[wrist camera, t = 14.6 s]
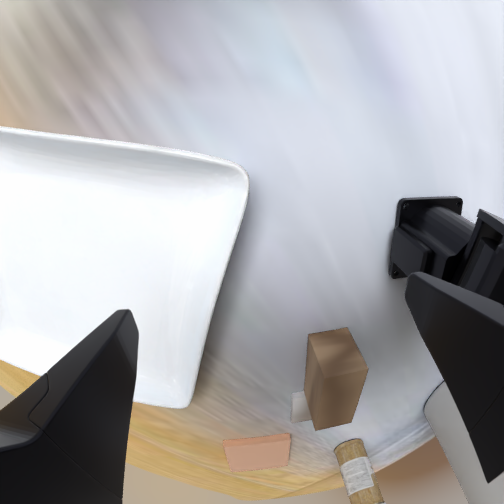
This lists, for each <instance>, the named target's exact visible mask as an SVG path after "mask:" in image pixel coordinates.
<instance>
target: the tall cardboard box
mask: <svg viewBox="0 0 504 504" xmlns="http://www.w3.org/2000/svg"><path fill="white" fill-rule="evenodd" d="M367 372H368V367H367V365H366V363H365V361H364V359H363V357H362V355H361V353H360V351H359V349H358V347H357V345H356V343H355V341H354V339H353V337H352V335H351V334H350V332H349V330H348V328H341V329H336V330H330V331H325V332H319V333H313V334H308V344H307V359H306V372H305V384H304V391H301V392H295V393H292V398H291V422H292V423H296V422H302V421H307V420H312V421H313V425H314V428H315V431H316V430H321V429H326V428H330V427H335V426H339V425H343V424H347V423H351V422H352V419H353V416H354V413H355V410H356V407H357V404H358V401H359V398H360V395H361V392H362V389H363V386H364V382H365V379H366V376H367Z"/></svg>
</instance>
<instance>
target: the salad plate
mask: <svg viewBox="0 0 504 504" xmlns="http://www.w3.org/2000/svg"><path fill="white" fill-rule="evenodd" d="M249 186H250V184H249V175H248V173H247V172H246V170H245V169H244V168H243V167H242V166H240V165H238V164H236V163H235V162H232V161H229V160H226V159H222V158H219V157H214V156H210V155H205V154H201V153H196V152H191V151H185V150H179V149H172V148H165V147H159V146H152V145H145V144H137V143H129V142H121V141H112V140H105V139H97V138H89V137H81V136H73V135H65V134H56V133H48V132H41V131H34V130H26V129H18V128H11V127H3V126H0V359H1V360H3V361H5V362H7V363H9V364H12V365H14V366H16V367H19V368H21V369H24V370H26V371H29V372H31V373H34V374H36V375H39V376H42V375H43V374H44V373H47V371H48V370H49V369H50V368H51V367H52V366H53V365H54V364H56V363H57V362H58V361H59V360H60V359H61V358H62V357H63V356H64V355H66V354H67V353H68V352H69V351H70V350H71V349H72V348H74V347H75V346H76V345H77V344H78V343H79V342H80V341H82V340H83V339H84V338H85V337H86V336H87V335H88V334H90V333H91V332H92V331H93V330H94V329H95V328H97V327H98V326H99V325H100V324H101V323H102V322H104V321H105V320H106V319H107V318H108V317H109V316H111V315H112V314H113V313H114V312H115V311H117V310H119V309H130V310H131V312H132V314H133V317H134V319H135V322H136V325H137V328H138V331H139V344H138V360H137V377H136V384H135V391H134V397H133V402H138V403H143V404H148V405H154V406H161V407H167V408H175V409H182V408H186V407H187V406H189V404H190V403H191V400H192V397H193V394H194V390H195V385H196V381H197V376H198V372H199V367H200V363H201V358H202V354H203V350H204V346H205V342H206V338H207V334H208V330H209V326H210V322H211V319H212V315H213V311H214V308H215V304H216V301H217V298H218V295H219V291H220V288H221V285H222V282H223V278H224V275H225V272H226V269H227V266H228V263H229V260H230V257H231V253H232V250H233V247H234V244H235V241H236V238H237V235H238V232H239V229H240V226H241V223H242V220H243V216H244V212H245V208H246V205H247V200H248V195H249Z"/></svg>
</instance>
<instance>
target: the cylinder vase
mask: <svg viewBox="0 0 504 504" xmlns="http://www.w3.org/2000/svg"><path fill="white" fill-rule="evenodd" d="M424 414H425V416H426V418H427V420H428V422H429V424H430V426H431V428H432V429H433V431H434V433H435V435H436V437H437V439H438V441H439V443H440V445H441V447H442V448H443V451H444V453H445V455H446V456H447V459H448V461H449V463H450V465H451V467H452V469H453V470H454V473H455V475H456V477H457V479H458V481H459V483H460V486H461V488H462V490H463V492H464V494H465V496H466V499H467V501H468V503H469V504H504V473H503V474H501V475H500V476H499V477H497V478H496V479H494V480H493V481H492V482H490V483H489V484H488V483H487V481H486V479H485V476H484V473H483V471H482V468H481V465H480V462H479V460H478V457H477V454H476V452H475V449H474V447H473V444H472V442H471V439H470V437H469V433H468V431H467V429H466V427H465V424H464V422H463V420H462V417H461V415H460V413H459V411H458V408H457V406H456V404H455V402H454V400H453V398H452V395H451V393H450V391H449V389H448V387H447V385H446V383H445V381H444V382H443V383H442V384H441V385H440V386H439V387H438V388H437V389H436V390H435V391H434V392H433V394H432V395H431V396H430V398H429V399H428V401H427V403H426V405H425V408H424Z"/></svg>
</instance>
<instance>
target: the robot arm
mask: <svg viewBox="0 0 504 504" xmlns="http://www.w3.org/2000/svg"><path fill="white" fill-rule="evenodd" d="M457 202H458V203H457ZM405 203H406V207H405V208H404V204H405ZM462 205H463V201H462V199H461V198H459V197H457V196H450V197H419V198H403V199H401V200H400V201H399V203H398V210H397V219H396V227H395V229H394V237H393V244H392V251H391V263H390V269H389V275H390V276H391V277H392V278H393V279H397V278H403V277H408V281H407V286H406V291H405V300H406V303H407V305H408V307H409V309H410V312H411V314H412V316H413V318H414V321H415V323H416V325H417V328H418V330H419V332H420V334H421V337H422V338H423V340H424V342H425V344H426V346H427V348H428V350H429V352H430V353H431V355H432V357H433V359H434V361H435V363H436V365H437V367H438V369H439V371H440V373H441V375H442V377H443V379H444V381H445V383H446V385H447V387H448V389H449V391H450V393H451V395H452V398H453V400H454V402H455V404H456V406H457V408H458V411H459V413H460V415H461V417H462V420H463V422H464V424H465V427H466V429H467V431H468V433H469V437H470V439H471V442H472V444H473V447H474V449H475V452H476V454H477V457H478V460H479V462H480V465H481V468H482V471H483V473H484V476H485V479H486V481H487V483H488V484H489V483H490V482H492V481H493V480H494V479H496V478H497V477H499V476H500V475H501V474H503V473H504V219H502V218H500V217H498V216H495V215H493V214H491V213H489V212H487V211H484V210H482V209H479V212H478V215H477V217H478V219H477V221H476V224H473V223H472V222H470V221H469V220H467V219H465V218H464V217H462V216H461V211H462ZM395 271H396V273H394V272H395ZM138 344H139V331H138V328H137V325H136V322H135V319H134V317H133V314H132V312H131V310H130V309H119V310H117V311H115V312H114V313H113V314H112V315H111V316H109V317H108V318H107V319H106V320H105V321H104V322H102V323H101V324H100V325H99V326H98V327H97V328H95V329H94V330H93V331H92V332H91V333H90V334H88V335H87V336H86V337H85V338H84V339H83V340H82V341H80V342H79V343H78V344H77V345H76V346H75V347H74V348H72V349H71V350H70V351H69V352H68V353H67V354H66V355H64V356H63V357H62V358H61V359H60V360H59V361H58V362H57V363H56V364H54V365H53V366H52V367H51V368H50V369H49V370H48V371H47V373H44V374H43V375H42V376H41V377H40V378H39V379H38V380H37V381H36V382H34V383H33V384H32V385H31V386H30V387H29V388H28V389H26V390H25V391H24V392H23V393H22V394H20V395H19V396H18V397H17V398H15V399H14V400H13V401H12V402H10V403H9V404H8V405H7V406H5V407H4V408H3V409H2V410H0V504H122V498H123V496H122V495H123V483H124V471H125V460H126V450H127V441H128V433H129V425H130V418H131V410H132V404H133V397H134V391H135V384H136V377H137V360H138Z"/></svg>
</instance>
